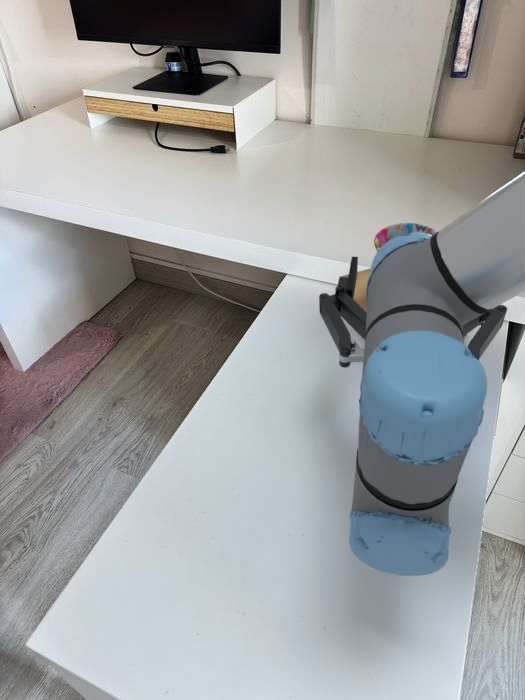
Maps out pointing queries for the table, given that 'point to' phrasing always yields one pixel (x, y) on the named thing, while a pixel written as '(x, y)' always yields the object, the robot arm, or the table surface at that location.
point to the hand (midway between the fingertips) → (410, 268)
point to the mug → (399, 232)
